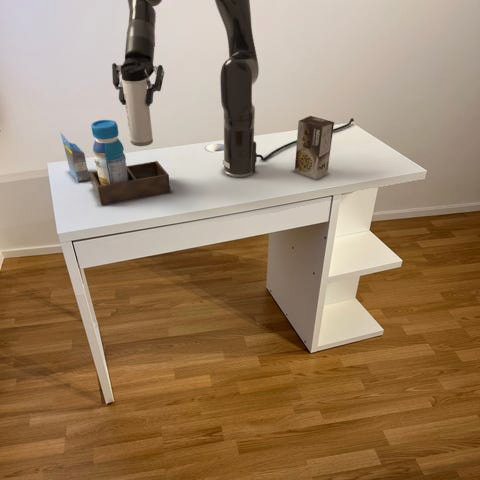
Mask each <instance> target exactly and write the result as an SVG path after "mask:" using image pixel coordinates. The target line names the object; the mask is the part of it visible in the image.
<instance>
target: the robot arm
mask: <svg viewBox="0 0 480 480" xmlns="http://www.w3.org/2000/svg"><path fill="white" fill-rule="evenodd" d="M162 1H163V0H127V4H128V10H129V12H128V13H129V15H128V25H127V30H126V37H125V39H126V40H125V50H124V61H123V63H122V64H117V63H116V62H113V63H112V64H111V74H112V84H113V87H114V89H115V90H117V91H118V100H119V102H120V103H121V105H122V106H126V105H125V98H124V91H123V84H122V82H123V81H122V80H121V79H120V76H122V75H121V68H120V67H121V66H122V65H124V64H126V63H132V61H139V63H141V64H143V65H144V67H145V76H146V83H147V94H146V104H147V106H149V107H151V105H152V104H153V102H154V93H155V92H161V91H162V87H163V81H164V76H165V70H164V67H163V65H162V64H159V65H158V66H157V65H154V59H155V58H154V57H155V48H156V22H157V21H156V19H157V12H156V9H155V8H154V7H157V6H159V5H160V4H161V3H162ZM214 3H215V6H216V9H217V12H218V13H219V17H220V18H221V22H222V24H223V26H224V29H225V32H226V38H227V45H228V59H226V60H225V61H224V63H222V66H221V69H220V76H219V80H220V82H219V83H220V103H221V108H222V110H223V159H222V165H223V173H224V174H225V175H227V176H229V177H233V178H245V177H249V176H251V175H252V174H255V173H256V164H257V159H258V158H259V159H261V161H266V160H267V159H269V158H271V157H272V156H273V155H274V154H276V153H278V152H279V151H281V150H284V149H285V148H288V147H289V146H292V145H295V144H297V139H296V140H294V141H291V142H289V143H286V144H284V145H282V146H280V147H278V148H275V149H274V150H273V151H271V152H270V153H268V154H267V155H266V156H263V155H262V154H258V153H257V142H256V141H255V117H256V115H255V114H256V107H255V105H254V104H253V85H255V84H256V82H257V80H258V77H259V73H260V66H259V62H258V61H259V60H258V56H257V55H258V54H257V50H256V46H255V39H254V36H253V35H254V34H253V27H252V13H251V12H252V11H251V1H250V0H214ZM153 73H155V78H154V79H155V80H154V83H152V82H151V79H150V77H151V76H152V75H153ZM120 80H121V81H120ZM352 122H355V119H354V118H353V117H351V118H350V119H349V122H348V123H346V124H344V125H342V126H339V127H336V128H333V133H334V132H336V131H339V130H342V129H345V128H347V127H349V126H350V125H352Z"/></svg>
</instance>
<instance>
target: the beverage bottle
mask: <svg viewBox="0 0 480 480" xmlns="http://www.w3.org/2000/svg"><path fill="white" fill-rule="evenodd" d="M91 131H92V136H93V138H94V139H95V140H94V142H93V146H92V152H93V153H94V157H93V159H94V163H95V166H96V171H97V172H98V177H99V181H100V186H102V185H108V184H113V183H119V182H125V181H128V175H127V168H126V166H127V158H126V154H125V153H124V150H125V148H124V144H123V143H122V142H121V140H120V139H119V127H118V123H117V122H116V121H114V120H112V119H100V120H96V121H93V122H92V123H91Z"/></svg>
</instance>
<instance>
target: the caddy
mask: <svg viewBox="0 0 480 480" xmlns="http://www.w3.org/2000/svg"><path fill="white" fill-rule="evenodd" d="M126 168H127V175H128V181H125V182H119V183H113V184H108V185H102V186H100V181H99V177H98V172H97V170H94V171H90V172H89V177H90V180H91V185H92V189H93V192H94V193H95V196H96V198H97V199H98V202H99V203H100V205H101V206H107V205H111V204H112V205H113V204H118V203H123V202H128V201H134V200H138V199H139V200H140V199H144V198H148V197H154V196H155V197H156V196H159V195H165V194H170V193H171V183H170V175H169V173H168V172H167V170H165V168H164V167H163V166H162V165H161V164H160V163H159V161H158V160H155V161H149V162H148V161H147V162H144V163H137V164H131V165H126Z"/></svg>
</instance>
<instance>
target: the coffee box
mask: <svg viewBox="0 0 480 480" xmlns="http://www.w3.org/2000/svg"><path fill="white" fill-rule="evenodd" d="M297 123H298V124H297V135H296V140H297V143H296V149H295V160H294V161H295V162H294V173H296V174H297V173H298V174H301V175H302V176H306V177H307V178H310V179H311V178H312V179H314V180H318V179H320V178H323V177H324V176H326V175H328V170H329V162H330V156H331V149H332V141H333V134H334V132H333V129H334V126H335V121H332V120H328V119H324V118H321V117H317V116H312V115H308V116H307V117H304V118H302V119H299V120H298V122H297Z"/></svg>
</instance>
